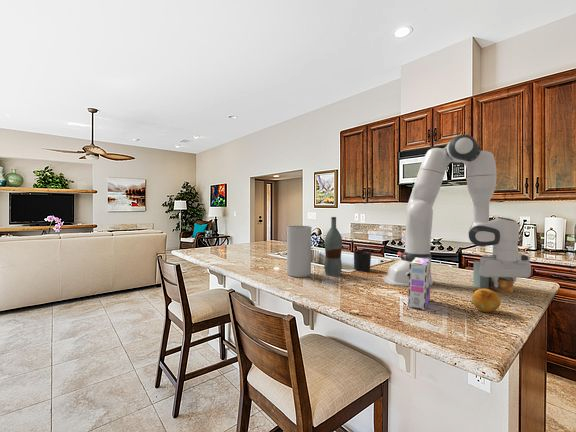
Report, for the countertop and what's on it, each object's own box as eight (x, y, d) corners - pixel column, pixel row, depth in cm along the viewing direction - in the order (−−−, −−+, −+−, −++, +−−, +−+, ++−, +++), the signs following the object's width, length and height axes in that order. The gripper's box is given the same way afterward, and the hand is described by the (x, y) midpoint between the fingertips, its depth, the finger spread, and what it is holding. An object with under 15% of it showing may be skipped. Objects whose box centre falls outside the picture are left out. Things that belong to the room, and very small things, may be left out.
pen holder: (369, 268, 172) (369, 250, 172) (372, 271, 163) (372, 253, 162) (352, 267, 173) (352, 250, 173) (354, 271, 164) (354, 253, 163)
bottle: (322, 272, 161) (323, 216, 160) (338, 271, 162) (339, 216, 161) (326, 276, 152) (327, 217, 151) (343, 276, 153) (345, 217, 152)
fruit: (489, 317, 100) (490, 293, 99) (466, 308, 107) (467, 286, 107) (504, 313, 103) (505, 290, 103) (481, 305, 110) (482, 284, 110)
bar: (503, 293, 126) (503, 281, 126) (474, 280, 146) (474, 270, 146) (512, 293, 126) (513, 281, 126) (482, 280, 146) (482, 270, 146)
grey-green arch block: (479, 287, 134) (481, 256, 133) (472, 284, 139) (474, 254, 138) (511, 288, 134) (512, 257, 133) (503, 285, 139) (504, 255, 138)
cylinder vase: (288, 271, 162) (288, 225, 161) (311, 272, 161) (312, 225, 159) (285, 277, 150) (285, 227, 149) (310, 278, 148) (310, 227, 147)
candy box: (425, 311, 105) (426, 264, 104) (407, 307, 108) (408, 262, 107) (430, 300, 116) (431, 258, 116) (414, 297, 120) (415, 256, 119)
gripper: (485, 256, 125) (484, 289, 126) (534, 257, 125) (532, 289, 126) (476, 253, 131) (474, 284, 132) (522, 254, 131) (521, 285, 132)
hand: (503, 287), depth 129 cm, fingers closed on bar, 4 cm apart
